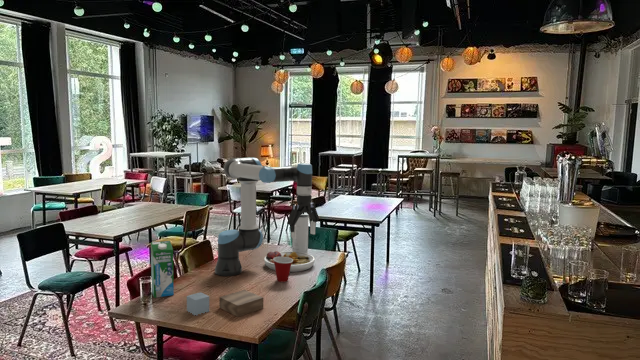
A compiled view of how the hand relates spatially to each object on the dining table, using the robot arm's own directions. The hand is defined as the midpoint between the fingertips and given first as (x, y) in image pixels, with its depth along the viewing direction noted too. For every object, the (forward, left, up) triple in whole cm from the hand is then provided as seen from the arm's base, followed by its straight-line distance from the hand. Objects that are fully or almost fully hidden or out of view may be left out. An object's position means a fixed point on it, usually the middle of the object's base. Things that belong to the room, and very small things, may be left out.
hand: (303, 236), depth 224 cm
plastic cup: (-17, +1, -28) cm, 32 cm away
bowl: (-35, +22, -28) cm, 50 cm away
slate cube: (-11, -54, -28) cm, 61 cm away
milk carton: (-42, -55, -28) cm, 74 cm away
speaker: (-50, +45, -28) cm, 73 cm away
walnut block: (-1, -38, -28) cm, 47 cm away
